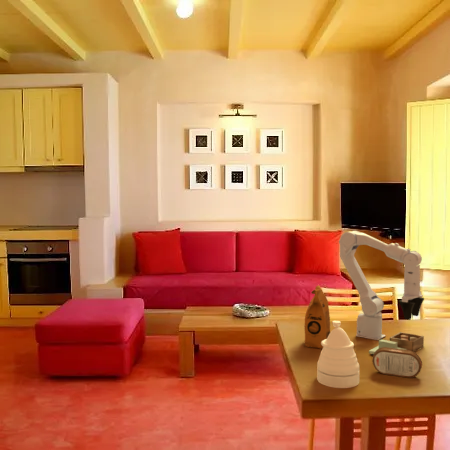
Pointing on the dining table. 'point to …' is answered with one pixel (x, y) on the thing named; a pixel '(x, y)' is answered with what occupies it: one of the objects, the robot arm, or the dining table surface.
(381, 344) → the lid
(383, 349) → the tin
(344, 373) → the honey pot
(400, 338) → the crate
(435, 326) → the dining table surface
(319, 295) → the coffee package
